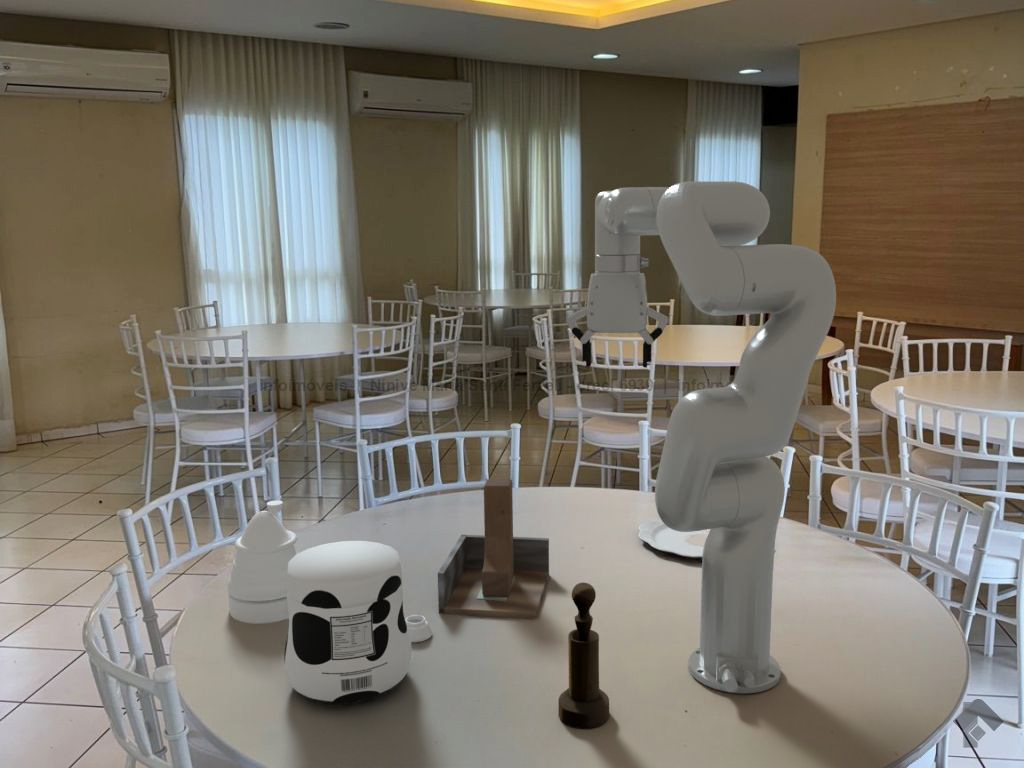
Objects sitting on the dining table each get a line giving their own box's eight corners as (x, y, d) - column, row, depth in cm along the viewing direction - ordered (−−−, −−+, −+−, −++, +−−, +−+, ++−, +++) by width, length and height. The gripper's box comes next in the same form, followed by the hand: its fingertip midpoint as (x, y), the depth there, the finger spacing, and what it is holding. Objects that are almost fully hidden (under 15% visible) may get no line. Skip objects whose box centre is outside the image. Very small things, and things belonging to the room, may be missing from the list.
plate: (794, 554, 168) (795, 544, 168) (681, 575, 159) (681, 565, 159) (718, 514, 191) (719, 506, 191) (616, 531, 182) (616, 522, 182)
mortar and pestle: (578, 696, 119) (578, 570, 115) (619, 712, 115) (620, 582, 111) (548, 718, 114) (547, 586, 110) (590, 735, 110) (590, 599, 106)
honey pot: (309, 587, 156) (303, 489, 152) (308, 618, 143) (301, 512, 140) (233, 594, 153) (225, 495, 150) (225, 627, 141) (217, 519, 137)
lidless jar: (435, 641, 135) (427, 627, 140) (434, 623, 135) (427, 610, 139) (403, 646, 134) (396, 632, 138) (402, 628, 133) (396, 614, 138)
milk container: (350, 641, 135) (344, 530, 132) (437, 673, 125) (433, 553, 122) (259, 691, 121) (250, 567, 118) (349, 730, 111) (342, 597, 108)
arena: (535, 618, 142) (535, 577, 141) (438, 613, 145) (437, 573, 143) (549, 575, 159) (548, 538, 158) (462, 570, 162) (461, 534, 161)
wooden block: (508, 597, 147) (507, 494, 144) (482, 597, 148) (479, 493, 144) (513, 576, 156) (512, 478, 153) (488, 576, 157) (486, 478, 153)
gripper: (669, 264, 151) (667, 363, 154) (568, 264, 153) (568, 362, 156) (669, 266, 143) (668, 370, 146) (563, 267, 146) (564, 369, 149)
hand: (616, 366), depth 151 cm, fingers open, 9 cm apart
